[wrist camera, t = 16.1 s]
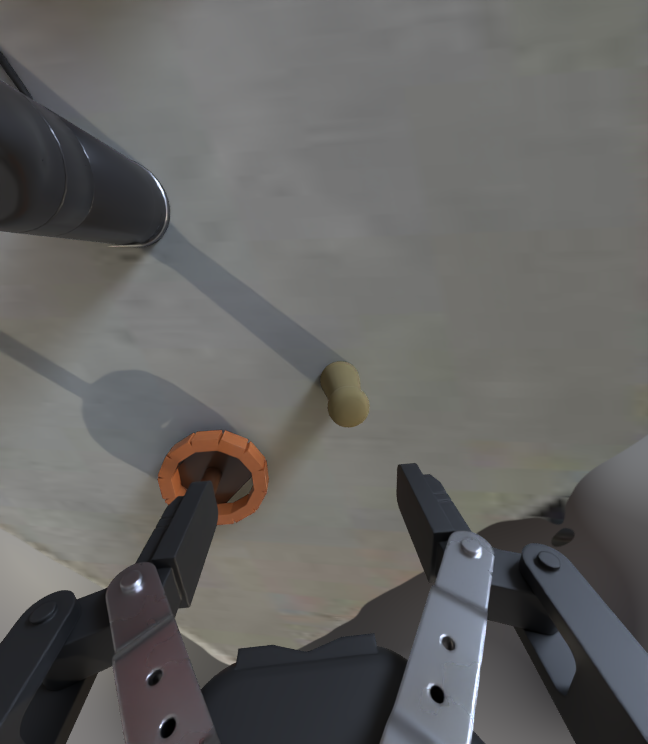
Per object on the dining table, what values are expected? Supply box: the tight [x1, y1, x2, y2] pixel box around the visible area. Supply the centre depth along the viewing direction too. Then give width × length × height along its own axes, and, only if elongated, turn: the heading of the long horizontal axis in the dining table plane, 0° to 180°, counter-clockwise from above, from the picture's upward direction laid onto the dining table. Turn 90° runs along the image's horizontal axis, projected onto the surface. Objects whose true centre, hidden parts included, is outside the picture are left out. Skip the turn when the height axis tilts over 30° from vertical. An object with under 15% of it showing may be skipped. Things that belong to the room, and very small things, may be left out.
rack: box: [178, 451, 252, 504], centre depth 43 cm, size 10×10×14 cm
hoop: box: [158, 430, 269, 525], centre depth 47 cm, size 16×16×3 cm
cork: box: [320, 361, 370, 427], centre depth 41 cm, size 6×6×11 cm
